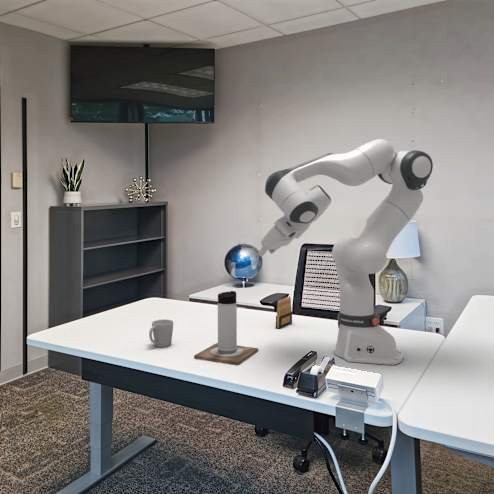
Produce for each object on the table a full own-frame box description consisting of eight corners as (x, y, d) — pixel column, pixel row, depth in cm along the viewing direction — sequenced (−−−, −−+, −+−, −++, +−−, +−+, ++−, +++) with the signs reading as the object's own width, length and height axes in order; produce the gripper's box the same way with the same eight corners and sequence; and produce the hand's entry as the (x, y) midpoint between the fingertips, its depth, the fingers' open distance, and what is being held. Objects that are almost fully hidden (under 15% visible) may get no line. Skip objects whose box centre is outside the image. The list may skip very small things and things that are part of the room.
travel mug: (241, 351, 165) (241, 292, 163) (227, 355, 160) (227, 295, 158) (227, 347, 169) (227, 289, 167) (214, 351, 164) (213, 292, 162)
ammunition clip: (279, 329, 198) (279, 299, 197) (275, 328, 199) (275, 299, 198) (292, 323, 207) (292, 295, 206) (288, 323, 208) (288, 295, 207)
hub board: (258, 351, 169) (258, 347, 169) (238, 365, 155) (238, 361, 154) (217, 345, 176) (217, 341, 176) (194, 358, 161) (194, 354, 161)
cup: (178, 344, 177) (177, 321, 176) (158, 351, 169) (157, 327, 168) (162, 341, 181) (162, 318, 181) (142, 347, 173) (142, 323, 172)
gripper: (296, 218, 176) (270, 244, 180) (275, 220, 157) (247, 249, 162) (307, 230, 174) (281, 257, 179) (288, 234, 156) (259, 263, 161)
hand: (265, 253), depth 170 cm, fingers open, 8 cm apart
